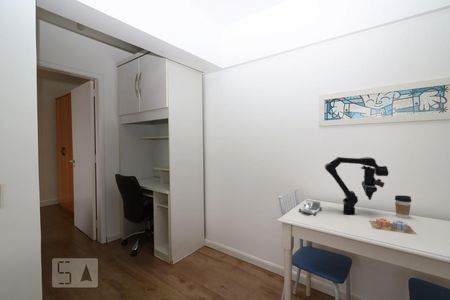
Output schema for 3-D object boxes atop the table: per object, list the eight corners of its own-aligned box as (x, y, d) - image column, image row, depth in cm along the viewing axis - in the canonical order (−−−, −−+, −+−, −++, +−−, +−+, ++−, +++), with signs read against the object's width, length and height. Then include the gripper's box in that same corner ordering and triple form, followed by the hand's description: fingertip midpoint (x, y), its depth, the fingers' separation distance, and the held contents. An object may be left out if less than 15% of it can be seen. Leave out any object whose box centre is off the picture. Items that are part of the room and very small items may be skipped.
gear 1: (377, 226, 123) (377, 220, 123) (375, 222, 128) (375, 217, 128) (390, 228, 120) (391, 222, 120) (388, 224, 126) (388, 218, 125)
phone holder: (314, 203, 143) (297, 200, 150) (313, 217, 143) (297, 214, 151) (322, 197, 156) (306, 195, 164) (321, 210, 157) (306, 207, 164)
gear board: (372, 230, 121) (372, 221, 121) (368, 222, 133) (368, 214, 132) (417, 237, 112) (418, 227, 112) (409, 228, 124) (409, 219, 124)
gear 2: (398, 230, 118) (398, 224, 118) (390, 225, 124) (390, 220, 124) (409, 230, 117) (410, 224, 117) (401, 225, 124) (401, 220, 123)
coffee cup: (412, 222, 133) (413, 198, 132) (395, 219, 137) (395, 197, 136) (409, 217, 140) (410, 195, 139) (393, 215, 144) (393, 193, 143)
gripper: (387, 178, 132) (386, 203, 133) (380, 174, 149) (379, 195, 150) (366, 177, 137) (365, 201, 138) (361, 173, 154) (361, 194, 155)
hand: (368, 197), depth 145 cm, fingers open, 9 cm apart
